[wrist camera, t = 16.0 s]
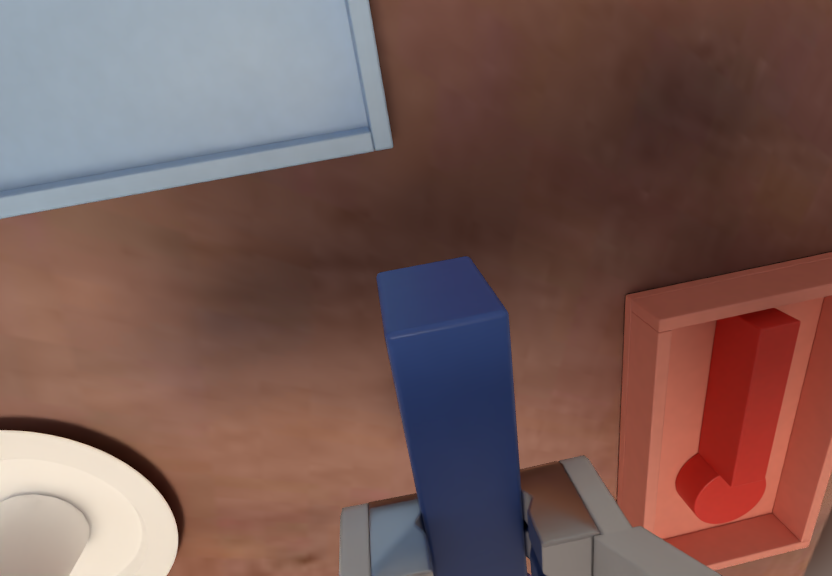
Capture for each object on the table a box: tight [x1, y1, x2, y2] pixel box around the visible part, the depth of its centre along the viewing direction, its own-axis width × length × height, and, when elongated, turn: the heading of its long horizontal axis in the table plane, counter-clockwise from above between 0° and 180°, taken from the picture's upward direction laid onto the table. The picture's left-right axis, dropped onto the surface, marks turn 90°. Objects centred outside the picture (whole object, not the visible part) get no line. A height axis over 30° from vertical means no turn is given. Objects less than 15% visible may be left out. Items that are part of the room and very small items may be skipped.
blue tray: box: [0, 0, 393, 219], centre depth 13 cm, size 17×10×2 cm, turn 99°
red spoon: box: [676, 308, 801, 524], centre depth 23 cm, size 13×4×2 cm, turn 8°
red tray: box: [617, 252, 832, 570], centre depth 23 cm, size 17×10×2 cm, turn 9°
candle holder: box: [0, 430, 178, 576], centre depth 19 cm, size 12×12×4 cm
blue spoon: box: [376, 256, 531, 576], centre depth 10 cm, size 13×4×2 cm, turn 8°
